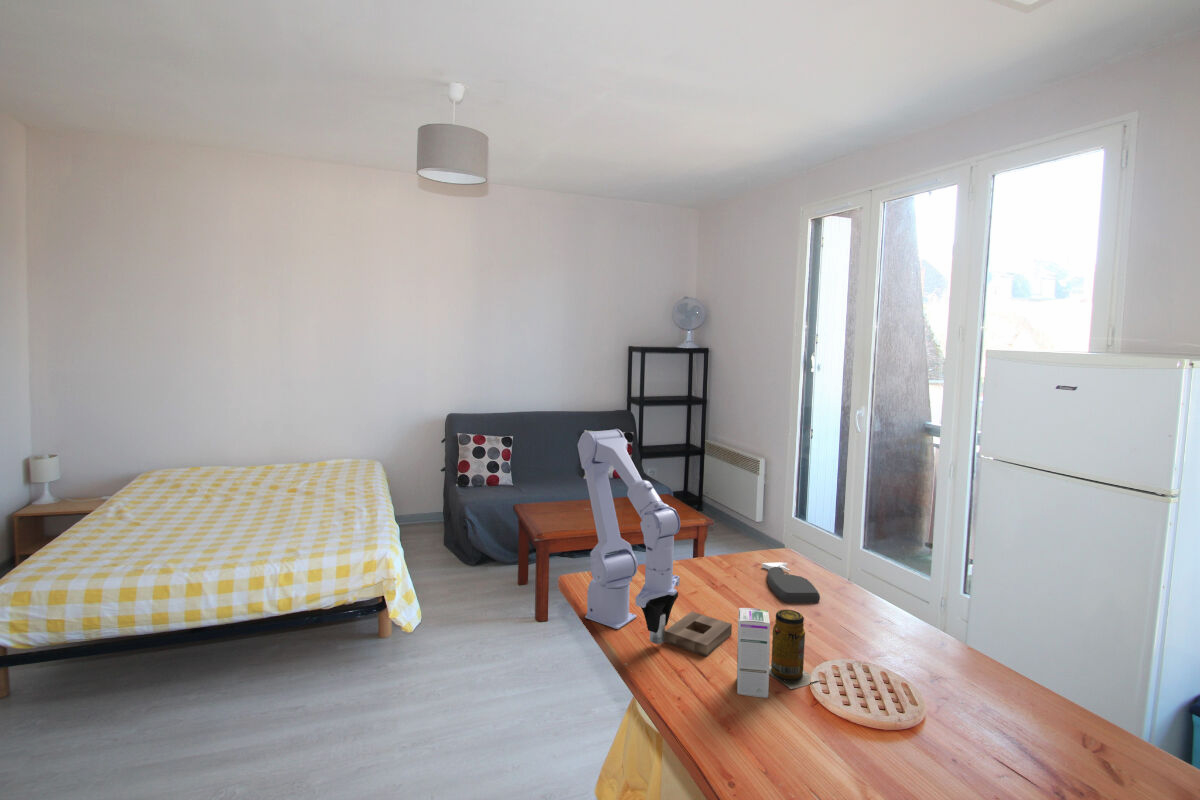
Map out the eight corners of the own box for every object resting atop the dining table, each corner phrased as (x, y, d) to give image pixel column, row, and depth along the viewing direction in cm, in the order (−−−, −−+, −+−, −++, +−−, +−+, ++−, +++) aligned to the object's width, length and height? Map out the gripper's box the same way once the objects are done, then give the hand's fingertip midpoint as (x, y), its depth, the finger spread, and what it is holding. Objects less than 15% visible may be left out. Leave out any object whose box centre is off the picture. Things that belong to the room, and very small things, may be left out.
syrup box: (768, 698, 113) (772, 623, 112) (735, 694, 115) (738, 619, 113) (766, 681, 119) (770, 609, 117) (735, 678, 120) (738, 606, 119)
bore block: (664, 641, 134) (664, 630, 133) (691, 621, 143) (691, 611, 143) (706, 656, 128) (706, 645, 128) (731, 634, 137) (731, 623, 137)
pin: (646, 640, 131) (647, 613, 130) (654, 634, 134) (655, 608, 133) (659, 645, 129) (660, 617, 128) (667, 639, 132) (668, 612, 131)
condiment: (788, 660, 127) (791, 604, 126) (819, 681, 119) (822, 622, 118) (760, 668, 124) (762, 611, 122) (790, 690, 116) (793, 629, 115)
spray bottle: (780, 604, 154) (753, 568, 178) (824, 604, 154) (790, 568, 179) (781, 593, 154) (753, 558, 178) (824, 593, 154) (791, 558, 178)
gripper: (657, 581, 121) (655, 647, 123) (692, 560, 133) (690, 620, 134) (627, 572, 125) (626, 636, 127) (664, 552, 137) (662, 611, 139)
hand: (657, 627), depth 131 cm, fingers closed on pin, 3 cm apart
